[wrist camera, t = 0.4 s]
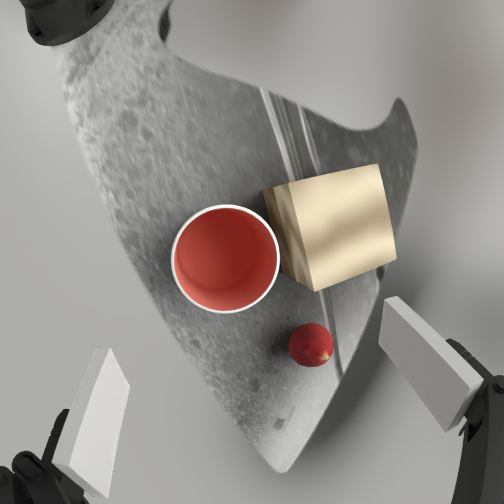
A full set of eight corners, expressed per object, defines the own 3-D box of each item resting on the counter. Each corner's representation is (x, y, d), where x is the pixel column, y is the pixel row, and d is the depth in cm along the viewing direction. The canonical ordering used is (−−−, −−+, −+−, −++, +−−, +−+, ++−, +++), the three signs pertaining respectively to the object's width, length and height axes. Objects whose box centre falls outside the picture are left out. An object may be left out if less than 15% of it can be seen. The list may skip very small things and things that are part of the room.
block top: (273, 187, 32) (287, 183, 27) (354, 169, 33) (377, 163, 29) (296, 281, 33) (314, 291, 29) (372, 253, 35) (396, 258, 30)
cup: (229, 302, 37) (244, 331, 27) (160, 263, 34) (150, 280, 25) (270, 235, 37) (299, 241, 27) (202, 192, 35) (208, 183, 25)
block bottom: (261, 190, 36) (272, 186, 32) (335, 173, 38) (354, 168, 33) (282, 272, 38) (295, 280, 33) (352, 249, 40) (371, 253, 35)
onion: (295, 360, 40) (317, 388, 32) (273, 334, 39) (293, 361, 31) (326, 334, 41) (353, 357, 33) (305, 307, 39) (332, 327, 31)
